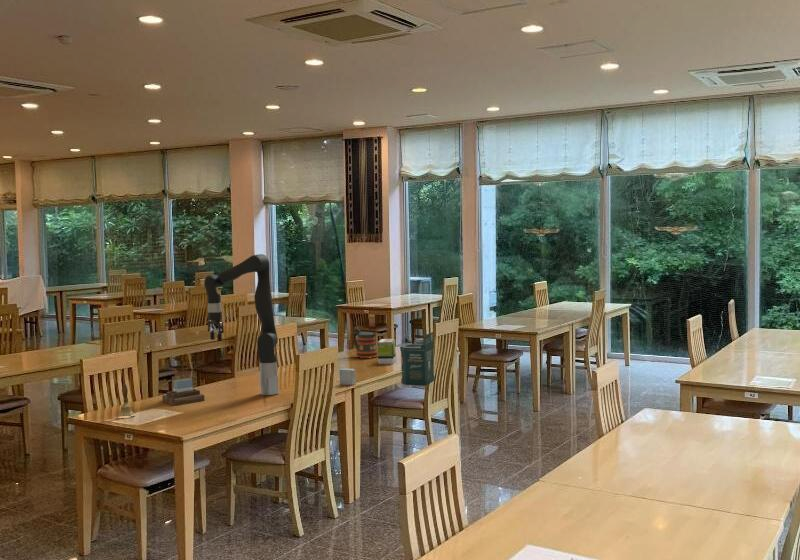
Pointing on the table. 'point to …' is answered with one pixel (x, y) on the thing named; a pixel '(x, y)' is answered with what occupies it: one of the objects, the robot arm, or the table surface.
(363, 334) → the beer stein
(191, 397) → the walnut stand
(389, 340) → the tea box
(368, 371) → the table surface
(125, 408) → the hand bell
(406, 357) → the donation box
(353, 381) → the medicine box
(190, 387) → the housing
